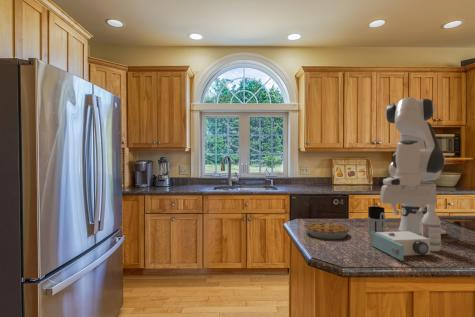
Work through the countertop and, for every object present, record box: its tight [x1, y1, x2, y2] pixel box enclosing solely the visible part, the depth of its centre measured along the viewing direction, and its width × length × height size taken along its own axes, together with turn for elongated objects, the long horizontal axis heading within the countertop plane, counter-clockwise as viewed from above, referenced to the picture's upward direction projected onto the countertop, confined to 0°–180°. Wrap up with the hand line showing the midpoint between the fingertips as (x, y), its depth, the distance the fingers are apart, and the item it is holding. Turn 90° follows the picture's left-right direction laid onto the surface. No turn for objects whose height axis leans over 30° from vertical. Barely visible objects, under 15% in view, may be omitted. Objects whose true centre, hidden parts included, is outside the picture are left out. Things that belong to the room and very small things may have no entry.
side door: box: [371, 231, 405, 262], centre depth 126 cm, size 2×21×7 cm, turn 6°
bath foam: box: [421, 204, 442, 252], centre depth 132 cm, size 7×7×20 cm
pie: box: [305, 222, 350, 240], centre depth 158 cm, size 22×22×5 cm
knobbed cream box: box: [376, 231, 431, 256], centre depth 129 cm, size 16×16×7 cm
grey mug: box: [366, 205, 386, 239], centre depth 149 cm, size 9×14×15 cm, turn 176°
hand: (407, 215), depth 120 cm, fingers open, 7 cm apart
